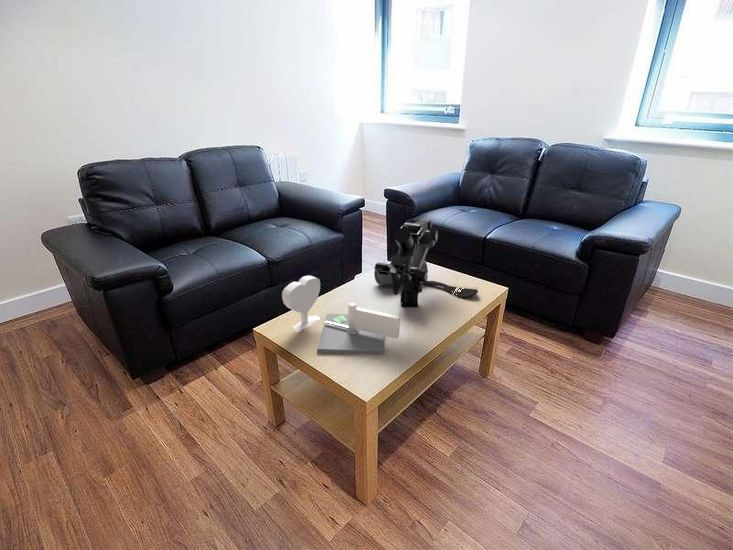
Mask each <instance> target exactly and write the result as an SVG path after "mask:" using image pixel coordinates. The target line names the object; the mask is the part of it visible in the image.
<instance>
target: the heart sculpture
mask: <svg viewBox="0 0 733 550" xmlns="http://www.w3.org/2000/svg"><path fill="white" fill-rule="evenodd" d="M320 291H321V281H320V278H317V277H315V276H313V275H304V276H302V277H301V278H300V279H299V280H298V281H292V282H290V283H289V284H288V285H286V286H285V287H284V289H283V290H282V292H281V299H282V303H283V304H284V305H285V307H286V308H288V309H290V310H291V311H292V310H293V311H294V312H298V313H300V320H301V322H300V321H299V322H297V323H298V324H297V323H296V325H295V324H294V325H295V326H294V325H292V326H293V328H294V329H295V330H296V331H301V330H303V329H304V330H306V329H308V328H309V327H311V326H312V325H314V324H315V323H317V322H319V321H320V320H321V317H320V316H318V315H315V316H310V315H309V316H308V314H309V312H310V310H311V309H312V307H313V306H314V304H315V303H316V301H317V300H318V298H319V294H320ZM318 320H319V321H318ZM313 323H314V324H313ZM308 326H309V327H308ZM305 328H306V329H305ZM304 330H303V331H304ZM301 332H302V331H301Z"/></svg>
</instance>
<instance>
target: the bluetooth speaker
mask: <svg viewBox="0 0 733 550" xmlns="http://www.w3.org/2000/svg"><path fill="white" fill-rule="evenodd" d="M386 264H387V265H388V267H390V268H394V267H393V266H392V265H391V262H389V263H386ZM420 270H425V271H426V273H427V274H428V273H429V271H428V270H429V269H428V263H427V261H426V260H425V259H424V262H423V264H422V267H421V269H420ZM373 275H374V279H375V282H376V283H377V285H379V286H386V285H390V286H393V282H392V278H391V277H390V276H389V274H388V275H380V274H378V273H377V272H376V270H375V269H374V274H373ZM399 276H400V275H398V278H399Z"/></svg>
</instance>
